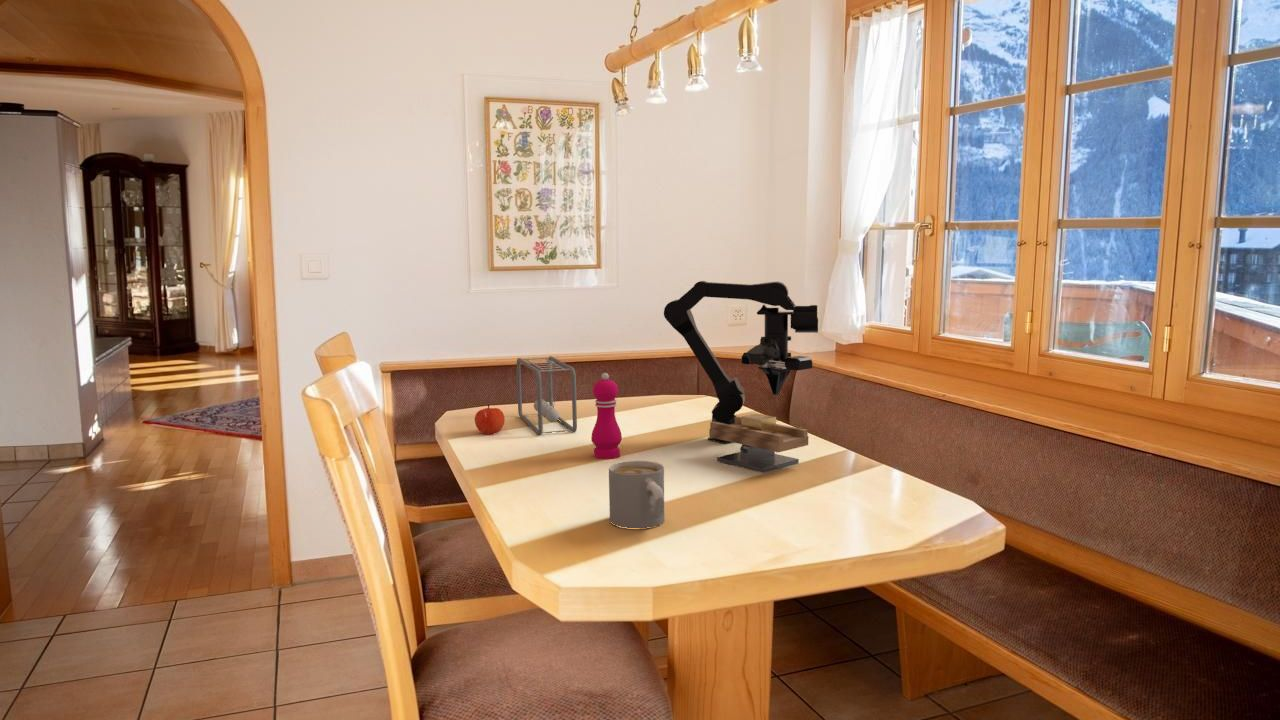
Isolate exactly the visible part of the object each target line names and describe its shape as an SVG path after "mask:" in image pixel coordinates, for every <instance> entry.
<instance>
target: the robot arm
mask: <svg viewBox="0 0 1280 720" xmlns="http://www.w3.org/2000/svg"><path fill="white" fill-rule="evenodd" d="M703 298H717V299H719V298H721V299H733V300H734V299H735V300H747V301H748V300H749V301H754V302H757V303H761V304H762V306H761V308H760V309H758V311H757V312H756V315H758V316H759V315H761V316H764V336H761V337H760V341H759V344H757V345H755V346H754V347H752V348H750V349H749V350H747V352H743V354H742V355H741V364H744V365H757V366H758V367H757V368H758V369H759V370H761V371H762V372H763V373H764V374H765V376H766V377H767V380H768V383H769V387H770V389H771V392H772V395H774V396H778V395H780V394H779V393H780V392H781V390H782V388H783V385H784V384H785V381H786V379H787V378H788V376H789V375H790V373H791V371H803V370H809V369H810V370H811V369H813V360H812V358H811V357H810V356H804V355H794V356H792V352H789V351H788V348H789V347H788V345H789V342H790V341H792V336H790V335H789V315H790V329H791V330H794V333H801V334H803V333H805V334H806V333H807V334H808V333H812V334H815V333H816V334H817V333H818V332H819V317H818V305H817V304H810V305H796V304H795V302H794V301H793V300H792V299H791V297H790V296H789V289H788V287H787V285H786V284H784V282H782V281H770V282H763V283H762V282H761V283H754V284H753V283H752V284H749V283H748V284H746V283H745V284H743V283H727V282H713V281H711V282H709V281H706V280H700V281H698V282H696V283H695V284H694V285H693V287H691V288H690V289H689V290H688V291H687V292H685V293H684V294H683V295H682V296H681V297H680V298H678V299H675V300H671V301H670V302H668V303H667V304H665V306H664V309H663V316H664V318H665V320H666V321H667V322H668V324H669V325H670V326H671V327H672V328H673V329H674V330H675V331H676V332H678V333H679V334H680V335H681V336H682V338H683V339H684V341H685V342H686V343H687V345H688V347H689V348H690V350H691V351H692V353H693V354H694V356H695V357H696V359H697V360H698V362H699V363H700V365H701V367H702V368H703V370H704V372H705V374H706V375H707V376H708V378H709V380H710V381H711V383H712V385H713V387H714V392H715V393H716V397H717V399H718V402H717V403H716V404H715V405H714V407H713V408H712V411H711V414H712V415H711V422H719V423H724V424H729V425H730V424H735V417H737V415H735V414H736V413H737V412H739V411H740V410H741V409H742V407H743V406H744V403H745V399H746V395H745V390H746V389H745V388H744V387H743V386H742V385H741V384H740V381H739V379H738V376H734V378H731V377H730V376H729V375H728V374H727V373H726V372H725V371H724V370H725V369H724V368H723V367H722V365H721V364H720V362H719V360H718V359H717V358H716V356H715V355H714V352H713V351H712V350H711V348H710V347H709V345H708V343H707V342H706V339H704V337H703V335H702V334H701V332H700V331H699V329H698V327H697V324H696V322H695V318H694V315H693V312H692V310H691V309H693V308H694V307H695V306H696V305H698V303H699V302H700V301H701V300H702V299H703ZM766 305H768V306H772V307H767V306H766ZM777 306H778V307H777ZM779 307H781V308H782V309H783V310H784V311H780V308H779ZM818 334H819V333H818ZM788 341H789V342H788ZM707 440H708V441H713V442H716V443H717V442H718V443H721V444H730V443H731V442H729V441H725V440H720V439H716V438H711V437H709V436H708V437H707Z"/></svg>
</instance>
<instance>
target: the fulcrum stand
mask: <svg viewBox="0 0 1280 720" xmlns="http://www.w3.org/2000/svg"><path fill="white" fill-rule="evenodd" d="M739 449H740V450H739V451H737V452H733V453H729V454H725V455H721V456H717V457H716V460H717V462H718V463H720V464H721V463H723V464H726V465H729V466H734V467H739V468H743V469H746V470H751V471H754V472H757V473H758V472H759V473H761V474H764V473H768V472H772V471H776V470H779V469H782V468H786V467H790V466H793V465H798V464H800V463H799V462H800V461H799V460H800V459H799V458H796V457H793V456H787V455H783V454H777V453H776V452H774V451H770V450H765V449H761V448H756V447H752V446H747V445H743V444H740V448H739Z"/></svg>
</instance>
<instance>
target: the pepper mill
mask: <svg viewBox="0 0 1280 720" xmlns="http://www.w3.org/2000/svg"><path fill="white" fill-rule="evenodd" d="M592 394H593V396H594V397H595V406H594V407H596V410H597V416H596V421H595V424H594V427H593V429H592V430H591V431H592V432H591V438H590V439H591V442H592V444H593V445H594V448H593V456H594V458H597V459H600V458H602V460H608V459H609V460H610V459H611V458H612V459H616V458H619V457H620V456H621V448H620V447H619V445H620V444H621V442H622V440H623V438H622V437H623V436H622V432H621V428H620V426H619V424H618V422H617V418H616V413H615V408H616V406H617V399H616V397H617V396H618V394H619V387H618V384H617V383H616V382H615V381H614V380H612V379H610V375H609V374H608V372H607V373H606V372H603V373H602V374H601V379H600V380H598V381H596V382H595V383H594V384H593V386H592Z"/></svg>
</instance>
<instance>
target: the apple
mask: <svg viewBox="0 0 1280 720" xmlns="http://www.w3.org/2000/svg"><path fill="white" fill-rule="evenodd" d="M505 422H506V417H505V414H504V412H503V411H502V409H500V408H497V407H494V408H493V407H490V403H489V404H487V407H486V408H483V409H480V410H478V411H477V412H476V414H475V415H474V424H475V426H476V428H477V430H478V432H480V433H481V434H482V433H483V434H482V435H491V434H492V435H495V434H494V433H496V434H498V433H499V432H501V431H502V429H503V428H504V425H505Z"/></svg>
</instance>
